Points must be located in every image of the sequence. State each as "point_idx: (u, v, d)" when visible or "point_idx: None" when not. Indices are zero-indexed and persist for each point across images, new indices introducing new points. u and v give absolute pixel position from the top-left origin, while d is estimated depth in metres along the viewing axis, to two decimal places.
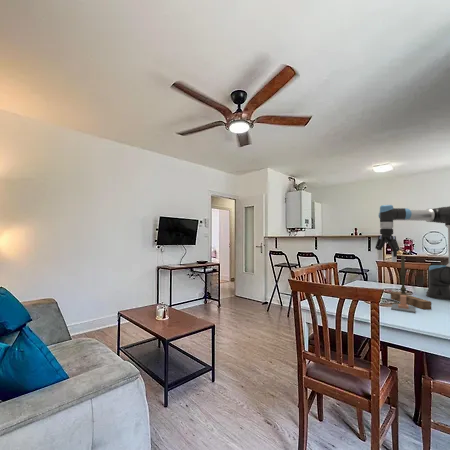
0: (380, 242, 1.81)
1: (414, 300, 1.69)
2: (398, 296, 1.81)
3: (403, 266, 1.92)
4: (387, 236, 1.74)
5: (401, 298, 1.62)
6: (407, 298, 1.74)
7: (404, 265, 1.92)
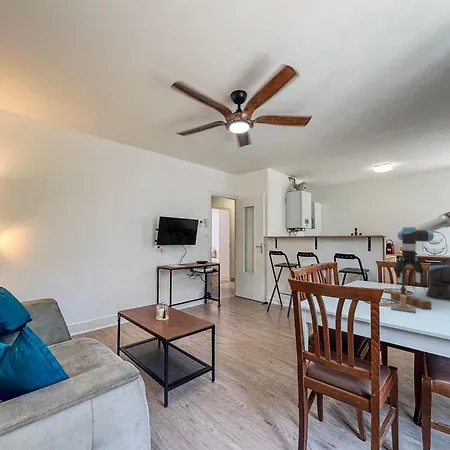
0: None
1: (414, 300, 1.69)
2: (398, 296, 1.81)
3: None
4: None
5: (401, 298, 1.62)
6: (407, 298, 1.74)
7: None
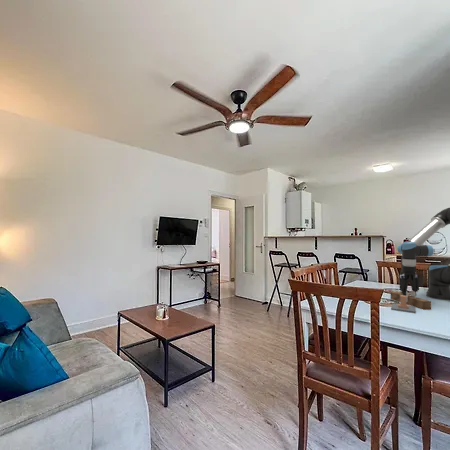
0: None
1: (414, 300, 1.69)
2: (398, 296, 1.81)
3: None
4: None
5: (401, 298, 1.62)
6: None
7: None
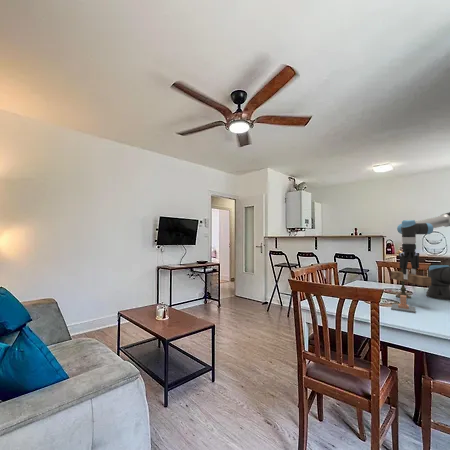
0: None
1: (414, 277, 1.69)
2: (398, 274, 1.81)
3: None
4: None
5: (401, 298, 1.62)
6: None
7: None
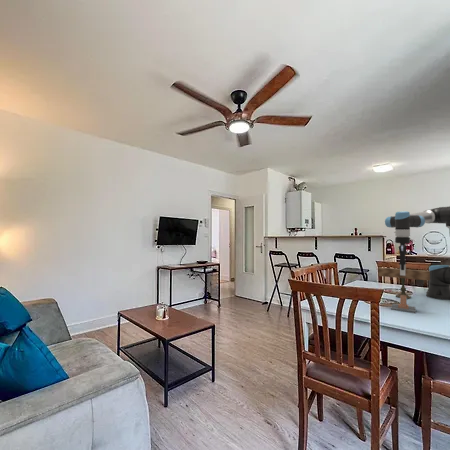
0: None
1: (415, 272, 1.58)
2: (390, 271, 1.65)
3: None
4: (400, 245, 1.63)
5: (401, 298, 1.62)
6: None
7: None
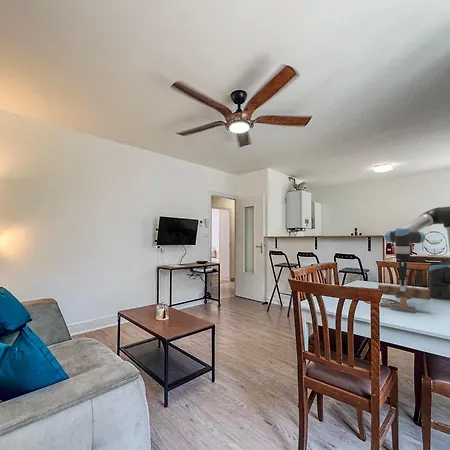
0: None
1: (415, 291, 1.58)
2: (390, 289, 1.65)
3: None
4: (400, 261, 1.62)
5: (401, 298, 1.62)
6: None
7: None
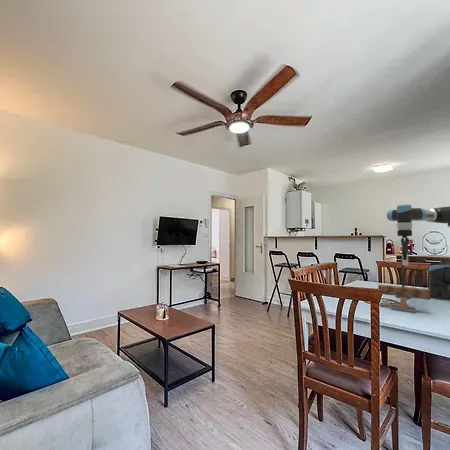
0: None
1: (415, 291, 1.58)
2: (390, 289, 1.65)
3: (403, 266, 1.92)
4: (402, 238, 1.64)
5: (401, 298, 1.62)
6: (404, 289, 1.61)
7: (404, 265, 1.92)
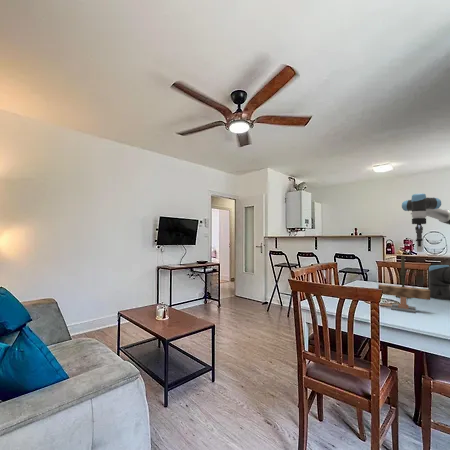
0: None
1: (415, 291, 1.58)
2: (390, 289, 1.65)
3: (403, 266, 1.92)
4: (416, 226, 1.70)
5: (401, 298, 1.62)
6: (404, 289, 1.61)
7: (404, 265, 1.92)
